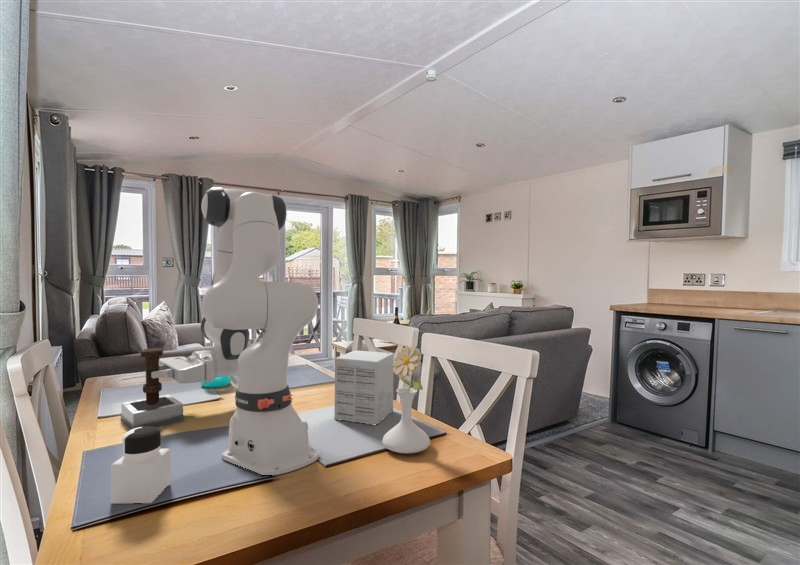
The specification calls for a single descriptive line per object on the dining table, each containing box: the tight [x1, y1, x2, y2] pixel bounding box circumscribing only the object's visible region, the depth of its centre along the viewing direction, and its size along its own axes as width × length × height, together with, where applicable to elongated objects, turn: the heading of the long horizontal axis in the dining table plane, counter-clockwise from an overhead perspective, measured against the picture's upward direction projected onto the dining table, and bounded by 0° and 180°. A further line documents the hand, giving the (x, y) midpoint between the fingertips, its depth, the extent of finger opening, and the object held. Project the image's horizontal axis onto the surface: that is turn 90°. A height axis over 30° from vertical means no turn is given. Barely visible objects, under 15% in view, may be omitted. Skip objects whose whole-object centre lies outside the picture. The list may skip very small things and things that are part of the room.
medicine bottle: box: [110, 426, 172, 505], centre depth 80 cm, size 7×7×12 cm
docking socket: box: [120, 394, 185, 430], centre depth 119 cm, size 14×12×4 cm
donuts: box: [200, 376, 232, 389], centre depth 155 cm, size 10×10×10 cm
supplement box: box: [334, 349, 395, 425], centre depth 124 cm, size 13×13×18 cm
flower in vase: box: [381, 344, 431, 455], centre depth 101 cm, size 13×11×25 cm
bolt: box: [140, 347, 164, 405], centre depth 119 cm, size 6×5×15 cm
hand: (148, 373), depth 118 cm, fingers closed on bolt, 3 cm apart
